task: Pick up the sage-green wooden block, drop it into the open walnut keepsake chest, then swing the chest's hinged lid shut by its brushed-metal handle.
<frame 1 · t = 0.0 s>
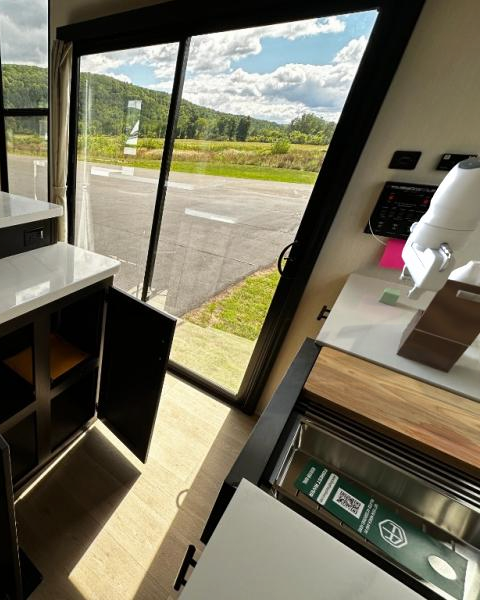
hand: (407, 289, 78), 28 cm above the countertop, tool pointing down, fingers open, 8 cm apart
lid: (458, 314, 84), point 18 cm above the countertop, hinge at 80.0°
water bottle: (433, 328, 108), on the countertop
block: (387, 301, 123), on the countertop
chest: (423, 351, 99), on the countertop
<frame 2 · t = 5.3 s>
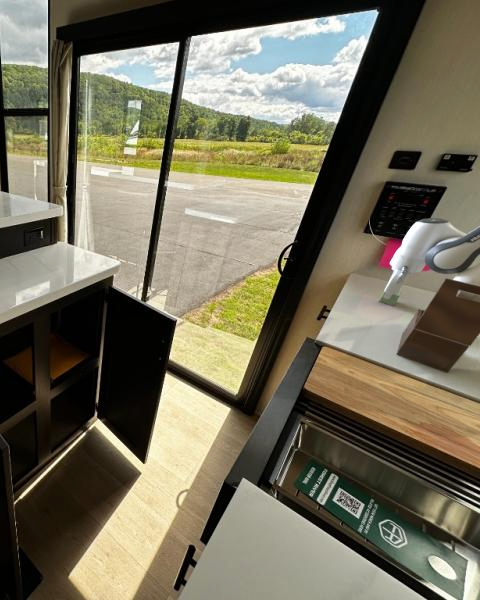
hand: (387, 294, 122), 3 cm above the countertop, tool pointing down, fingers closed on block, 4 cm apart
water bottle: (433, 328, 108), on the countertop, touching arm
block: (387, 301, 123), on the countertop, touching gripper
everything else where it was.
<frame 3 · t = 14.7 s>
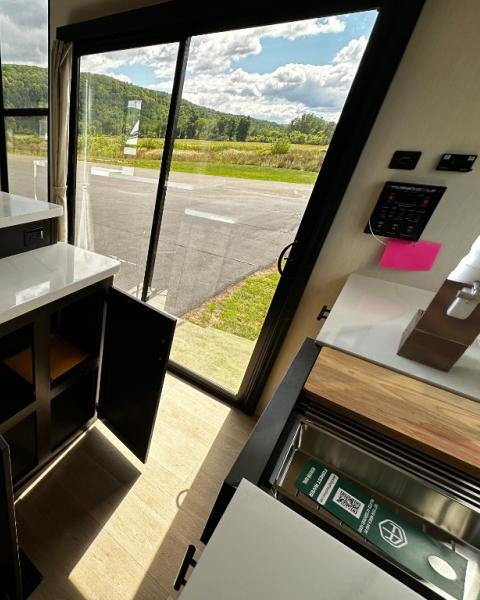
hand: (446, 316, 93), 13 cm above the countertop, tool pointing down, fingers closed on block, 4 cm apart
lid: (458, 314, 84), point 18 cm above the countertop, hinge at 81.1°, touching arm
water bottle: (433, 328, 108), on the countertop
block: (444, 325, 93), point 10 cm above the countertop, touching gripper
when the fingers open (13 cm above the countertop, at t = 14.9 s): block drops 9 cm, resting on chest.
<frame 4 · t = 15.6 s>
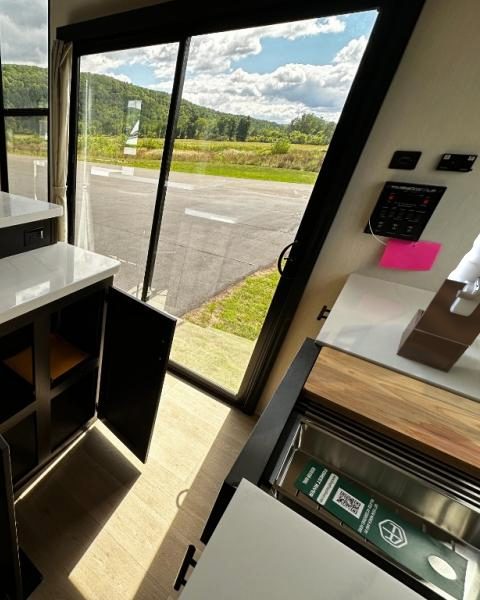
hand: (450, 314, 92), 14 cm above the countertop, tool pointing down, fingers open, 8 cm apart
lid: (458, 314, 84), point 18 cm above the countertop, hinge at 80.7°, touching gripper
block: (426, 348, 98), point 1 cm above the countertop, touching chest
everything else where it was.
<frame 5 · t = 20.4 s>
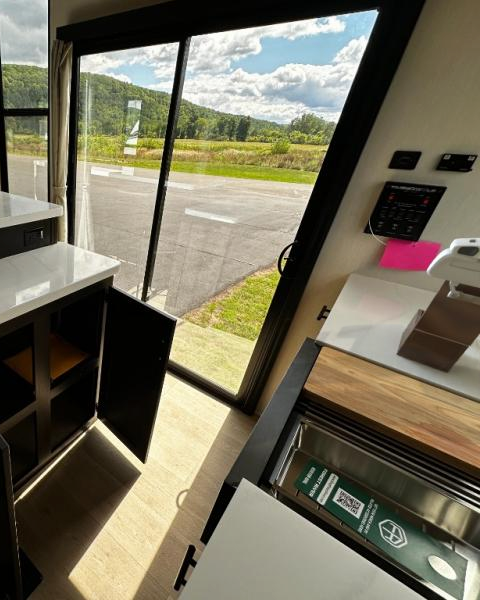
hand: (468, 301, 81), 23 cm above the countertop, tool pointing down, fingers closed on lid, 5 cm apart
lid: (458, 315, 84), point 18 cm above the countertop, hinge at 84.8°, touching gripper
everything else where it was.
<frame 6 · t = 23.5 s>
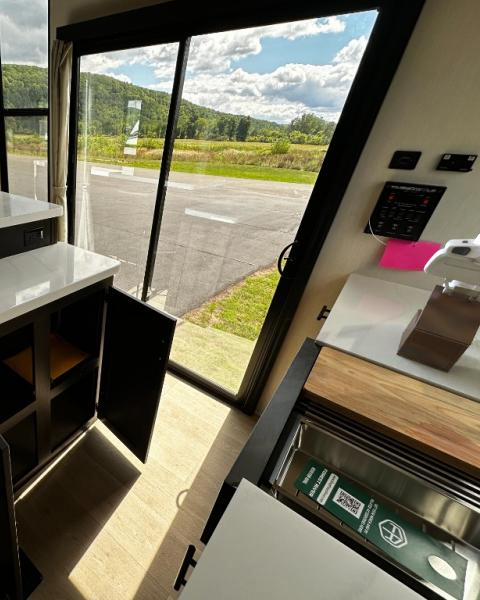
hand: (461, 296, 90), 19 cm above the countertop, tool pointing down, fingers closed on lid, 5 cm apart
lid: (455, 310, 89), point 17 cm above the countertop, hinge at 35.8°, touching gripper
everything else where it was.
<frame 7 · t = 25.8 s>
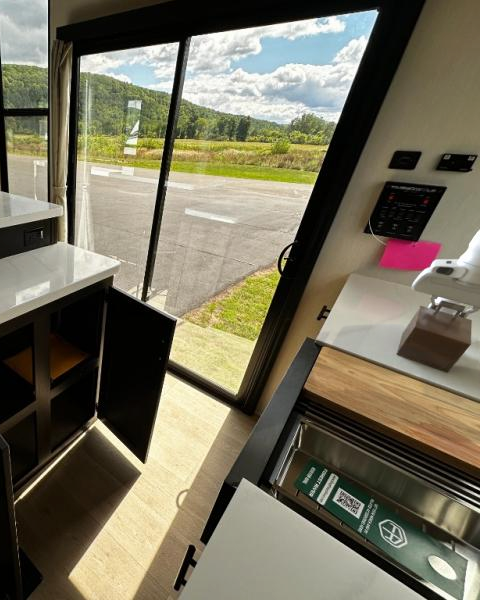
hand: (446, 312, 96), 12 cm above the countertop, tool pointing down, fingers closed on lid, 5 cm apart
lid: (447, 318, 92), point 13 cm above the countertop, hinge at -0.2°, touching chest, gripper
everything else where it was.
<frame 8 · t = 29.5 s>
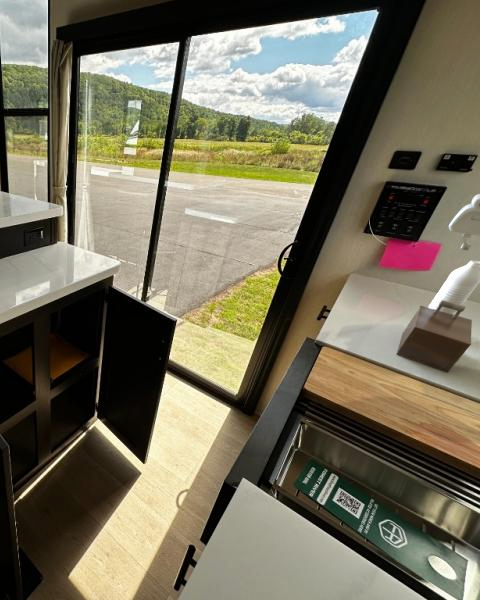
lid: (447, 318, 92), point 13 cm above the countertop, hinge at -0.1°
everything else where it was.
at the end: lid at +0° (first picture: +80°); block inside the target area in the chest (0.6 cm from its centre), point 0.9 cm above the chest's base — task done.
